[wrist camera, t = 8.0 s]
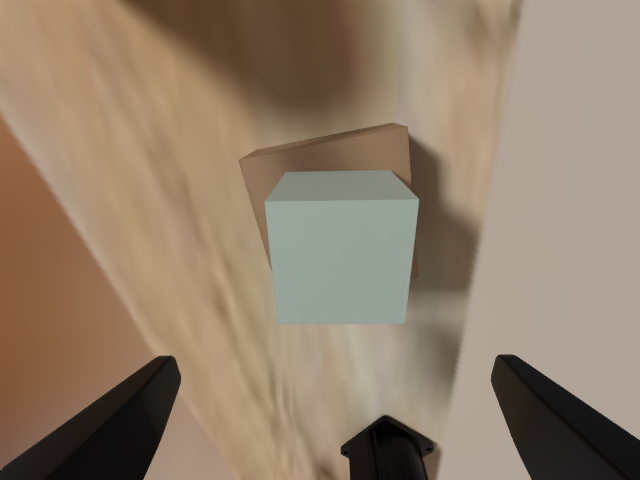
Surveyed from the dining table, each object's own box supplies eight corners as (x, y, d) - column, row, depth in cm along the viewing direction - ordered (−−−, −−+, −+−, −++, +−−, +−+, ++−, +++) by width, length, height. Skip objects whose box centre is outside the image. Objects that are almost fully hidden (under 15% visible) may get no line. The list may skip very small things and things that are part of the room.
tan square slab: (391, 122, 17) (407, 126, 13) (402, 246, 20) (417, 277, 16) (257, 149, 18) (238, 160, 14) (288, 263, 21) (279, 296, 17)
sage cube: (390, 170, 14) (419, 199, 9) (383, 262, 16) (404, 323, 11) (286, 171, 14) (264, 201, 10) (292, 263, 16) (277, 323, 12)
